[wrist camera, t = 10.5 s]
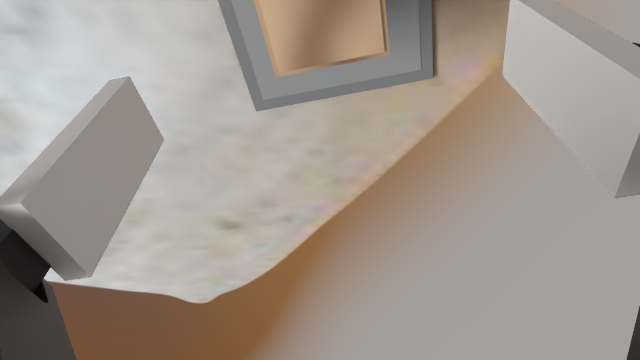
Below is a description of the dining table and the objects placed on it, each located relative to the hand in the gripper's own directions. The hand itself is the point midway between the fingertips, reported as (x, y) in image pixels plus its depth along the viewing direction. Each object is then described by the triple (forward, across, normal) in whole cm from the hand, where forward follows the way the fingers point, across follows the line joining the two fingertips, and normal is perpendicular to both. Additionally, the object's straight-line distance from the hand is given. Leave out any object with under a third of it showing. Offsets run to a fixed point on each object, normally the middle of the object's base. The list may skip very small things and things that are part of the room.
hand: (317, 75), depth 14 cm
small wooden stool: (+18, 0, 0) cm, 19 cm away
